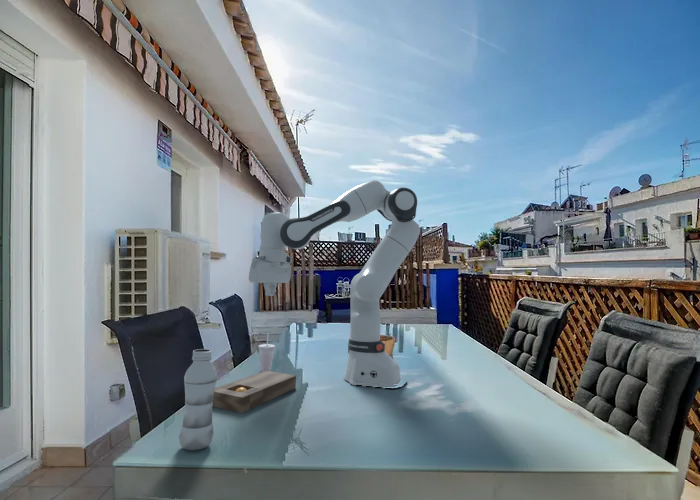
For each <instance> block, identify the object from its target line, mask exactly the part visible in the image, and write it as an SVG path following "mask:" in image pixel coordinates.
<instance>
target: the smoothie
mask: <svg viewBox="0 0 700 500" xmlns="http://www.w3.org/2000/svg"><path fill="white" fill-rule="evenodd" d="M266 335H267V336H266V343H263V344H258V348H257V349H258V352H259V353H258V354H259V364H260V367H259V368H260V373H261V372H264V371H271V372H272V365H273V359H274V354H275V349H276V345H275V344H272V343H271V344H270V343H269V338H270V337H269V336H270V333H267V334H266Z"/></svg>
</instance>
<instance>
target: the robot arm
mask: <svg viewBox="0 0 700 500" xmlns="http://www.w3.org/2000/svg"><path fill="white" fill-rule="evenodd" d="M417 207H418V198H417V195H416V193H415V191H413V190H412V189H411V188H407V187H397V188H395V189H394V190H392V191H388V190H387V189H386V187H385V185H384V184H383V183H382V182H381V181H379V180H374V179H373V180H369V181H366V182H364V183H362V184H359V185H357V186H355V187H353V188H351V189H350V190H348V191H346V192H344V193H343V194H342V195H340V196H339V197H338V198H336V199H335V200H334V201H332V202H331V203H330V204H328V205H327V206H325V207H323V208H321V209H319V210H317V211H315V212H313V213H311V214H308V215H307V216H303V217H293V218H290V217H288V216H287V215H286V214H284V212H278V211H277V212H275V211H274V212H269V213H267V214H265V215H264V216H263V218H262V221H261V226H260V245H259V255H255V256H254V257H253V258H252V259H251V263H250V267H249V273H248V281H249V282H250V284H251V283H254V284H255V283H256V284H257V283H258V284H263V288H264V291H265V296H266V297H272V296H275V291H276V288H277V285H278V284H285V283H286V284H289V283H290V281H291V279H292V277H291V276H292V266H291V264H292V261H293V258H292V257H291V256H290V255H288V254H287V253H286V252H285V251H286V249H285V248H286V247H287V248H291V249H293V250H302V249H305V248H306V247H307V246H308V245H309V244H310V242H311V238H312V237H313V236H314V235H315V234H316V233H318V232H320V231H322V230H324V229H325V228H328V227H329V226H332V225H333V224H336V223H339V222H344V223H345V222H347V223H351V222H354V221H357V220H359V219H362V218H363V217H365V216H367V215H369V214H370V213H372V212H374V211H377V212H378V213H379V214H380V215H381V216H382V217H383V218H384V219H385V220H386V221H389V222H391V226H390V228H389V230H387V231H388V232H387V233H386V234H385V235H384V237H383V238H382V239H381V241H380V242H379V243H378V245H377V246H376V247H375V249H374V250H373V252H372V254H371V255H370V256H369V258H368V260H367V261H366V263H365V264H364V265H363V266H362V268H361V270H360V271H359V273H357V274H356V275H354V276H353V278H352V280H350V281H351V282H350V297H349V298H350V320H349V321H350V326H349V339H348V342H347V343H348V344H347V353H348V358H347V365H346V369H345V373H344V376H343V380H345V381H347V382H349V384H350V385H351V384H352V385H351V386H356V385H362V386H361V387H366V386H377V387H395V386H397V385H394V384H398V383H399V382H400V380H401V377H402V375H401V369H400V365H399V363H398V362H397V361H396V360H394V358H393V357H391V356H390V355H389V354H388V353H387V352H386V351H385V348H386V346H387V345H386V344H387V342H383V341H382V340H381V322H382V321H381V319H382V318H381V309H380V299H381V297H382V295H384V293H385V291H386V290H387V287H388V286H389V284H390V282H391V281H392V280H393V278H394V276H395V275H396V272H397V271H398V269H399V268H400V267H401V265H402V264H403V262H404V261H405V260H406V258H407V257H408V255H409V254H410V252H411V250H412V249H413V248H414V246H415V244H416V242H417V241H418V238H419V237H420V233H421V228H420V226H419V224H418V222H416V220H415V218H416V216H417Z"/></svg>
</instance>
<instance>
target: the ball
mask: <svg viewBox="0 0 700 500" xmlns="http://www.w3.org/2000/svg"><path fill="white" fill-rule="evenodd" d="M246 390H247V389H246V388H243V387H240V388H238V389H237V390H236V391H237V392H243V391H246Z"/></svg>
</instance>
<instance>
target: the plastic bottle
mask: <svg viewBox="0 0 700 500" xmlns="http://www.w3.org/2000/svg"><path fill="white" fill-rule="evenodd" d="M212 359H213V357H212V349H207V348H199V349H194V350H193V351H192V357H191V361H192V363H191V364H190V366H189V367H188V368H187V369H186V370H185V371H186V372H185V374H184V376H183V379H184V381H183V384H184V394H185V395H184V399H185V400H184V402H185V403H184V413H183V418H182V425H181V428H180V431H179V435H178V436H179V437H178V438H179V444H180V446H181V447H182V449H183V450H186V451H199V450H203V449H205V448H207V447H208V446H210V444H211V442H212V441H213V438H214V432H215V431H214V424H213V406H212V404H213V402H212V401H213V396H214V390H215V388H216V384H217V379H218V373H217V369H216V368H215V366H214V365H213V364H212V362H211V361H212Z"/></svg>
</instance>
